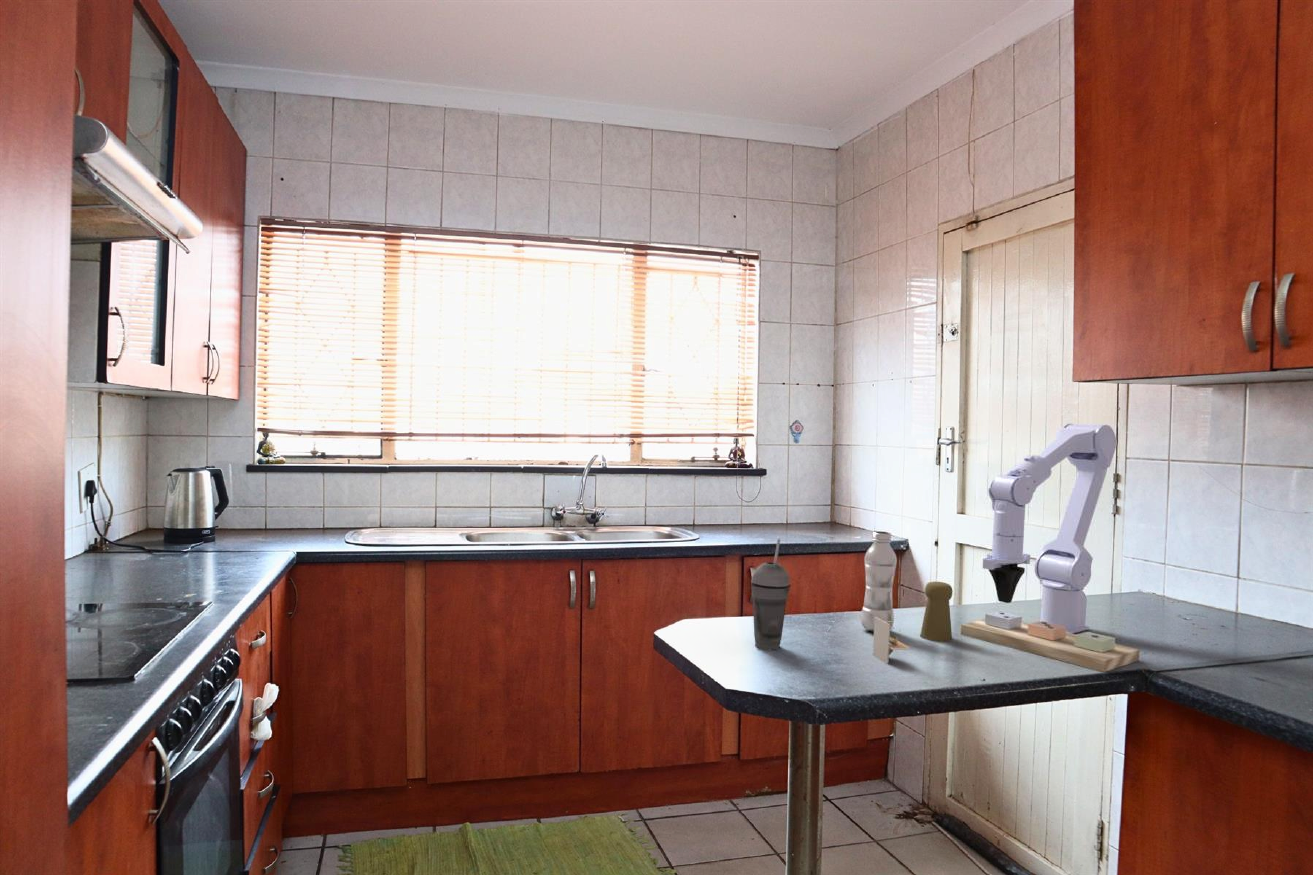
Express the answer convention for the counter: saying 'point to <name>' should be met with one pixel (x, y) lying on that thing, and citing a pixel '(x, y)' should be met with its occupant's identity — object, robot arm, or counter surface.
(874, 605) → the plastic bottle
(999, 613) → the tile two
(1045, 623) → the tile three
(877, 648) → the architectural model
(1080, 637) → the tile one
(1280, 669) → the counter surface
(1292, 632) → the counter surface
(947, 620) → the cork
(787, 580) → the beverage cup
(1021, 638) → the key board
